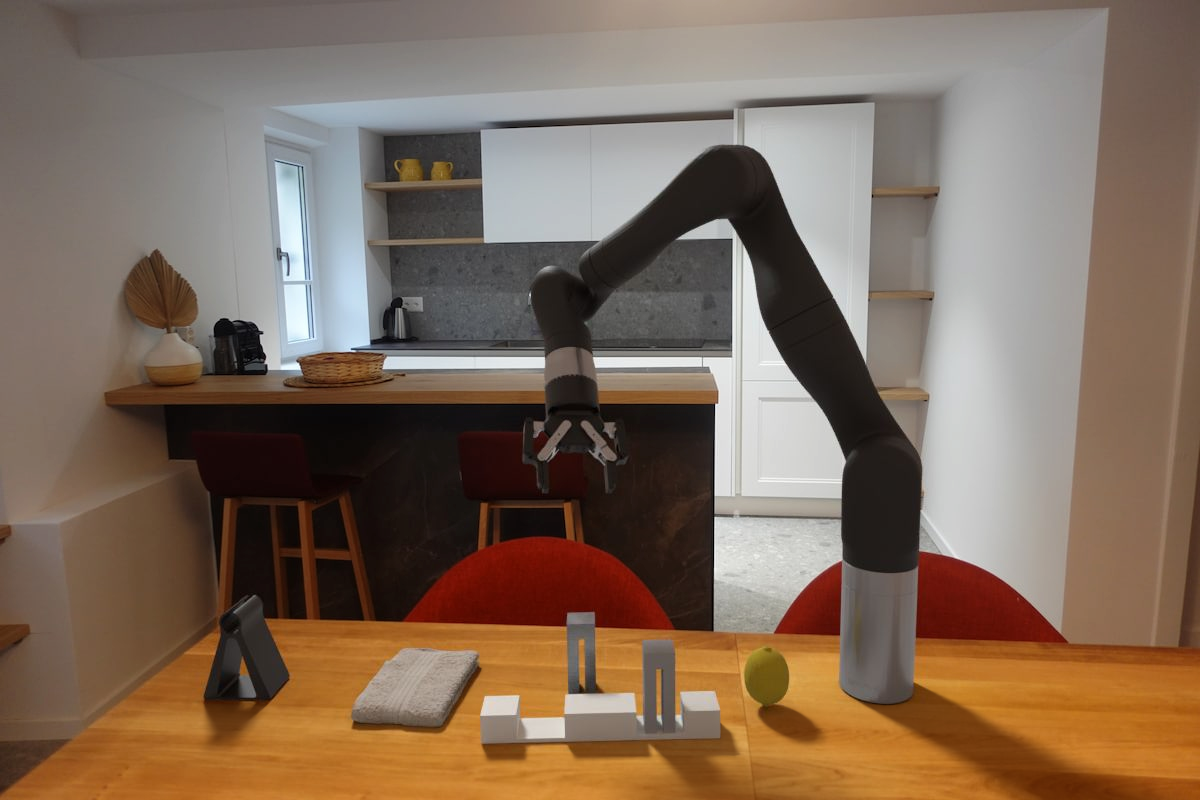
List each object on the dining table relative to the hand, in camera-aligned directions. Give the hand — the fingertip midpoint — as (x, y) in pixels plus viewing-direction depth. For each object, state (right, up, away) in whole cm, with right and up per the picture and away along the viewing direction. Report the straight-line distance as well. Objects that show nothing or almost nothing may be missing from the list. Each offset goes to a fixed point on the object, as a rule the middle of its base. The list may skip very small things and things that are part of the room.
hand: (578, 490), depth 107 cm
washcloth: (-21, -27, +1) cm, 34 cm away
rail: (+3, -28, -10) cm, 29 cm away
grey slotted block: (+1, -26, 0) cm, 26 cm away
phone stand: (-44, -27, +2) cm, 52 cm away
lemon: (+24, -27, -5) cm, 36 cm away
